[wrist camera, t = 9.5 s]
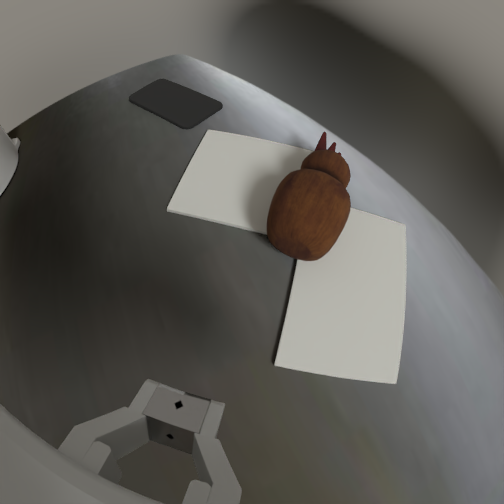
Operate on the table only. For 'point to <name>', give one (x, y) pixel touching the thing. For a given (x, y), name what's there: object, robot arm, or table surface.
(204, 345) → the table surface
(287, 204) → the wooden figurine
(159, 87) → the phone
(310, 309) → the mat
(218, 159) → the mat side
